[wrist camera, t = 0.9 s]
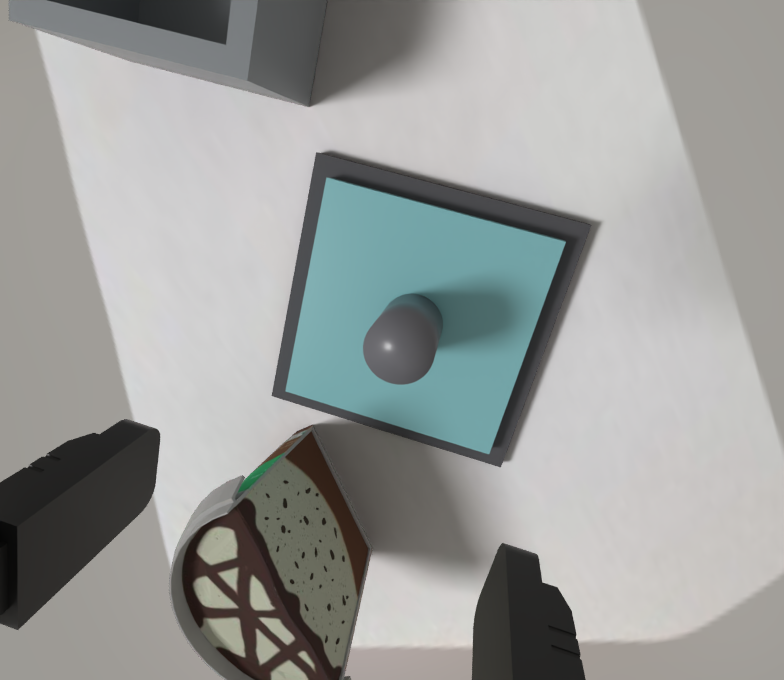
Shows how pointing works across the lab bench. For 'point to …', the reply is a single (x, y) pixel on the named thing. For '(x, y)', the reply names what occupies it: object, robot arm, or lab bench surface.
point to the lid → (418, 313)
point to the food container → (273, 570)
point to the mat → (456, 201)
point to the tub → (196, 37)
